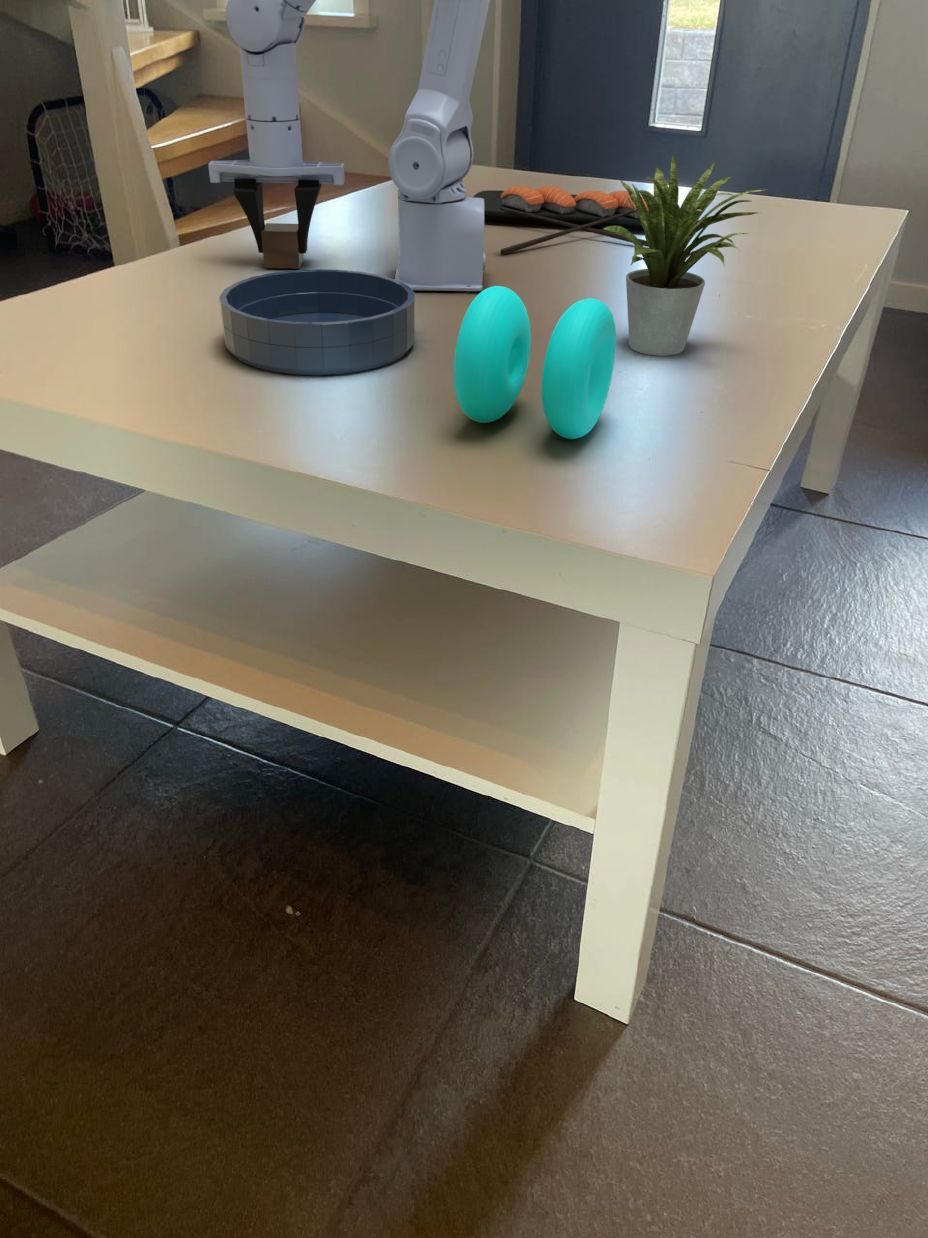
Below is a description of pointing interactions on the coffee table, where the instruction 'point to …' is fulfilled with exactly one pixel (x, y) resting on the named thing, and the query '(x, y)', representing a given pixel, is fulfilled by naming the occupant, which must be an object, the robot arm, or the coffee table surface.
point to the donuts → (501, 355)
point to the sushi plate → (562, 211)
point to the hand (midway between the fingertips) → (283, 251)
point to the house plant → (670, 260)
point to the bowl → (318, 321)
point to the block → (281, 246)
